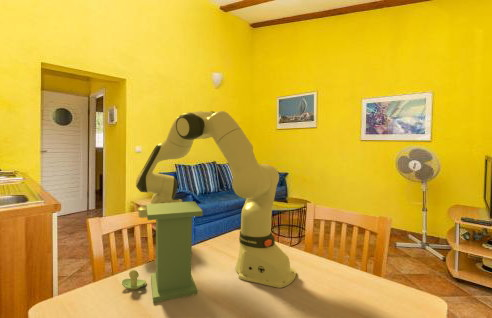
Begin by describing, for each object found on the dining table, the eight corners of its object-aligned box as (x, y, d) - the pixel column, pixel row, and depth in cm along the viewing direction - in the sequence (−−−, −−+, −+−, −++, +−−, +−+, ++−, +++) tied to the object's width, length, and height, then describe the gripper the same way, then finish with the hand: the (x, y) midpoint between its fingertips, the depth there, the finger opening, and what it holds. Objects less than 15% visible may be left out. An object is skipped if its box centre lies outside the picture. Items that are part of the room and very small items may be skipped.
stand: (202, 293, 86) (203, 211, 84) (147, 303, 80) (147, 216, 78) (192, 271, 100) (194, 200, 97) (146, 278, 94) (146, 203, 91)
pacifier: (129, 281, 92) (119, 290, 86) (129, 263, 92) (119, 271, 86) (150, 283, 91) (142, 292, 85) (150, 264, 91) (142, 273, 85)
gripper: (137, 201, 120) (137, 209, 107) (184, 198, 128) (190, 206, 115) (137, 215, 120) (137, 225, 108) (184, 212, 128) (189, 221, 115)
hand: (165, 215), depth 111 cm, fingers open, 8 cm apart
